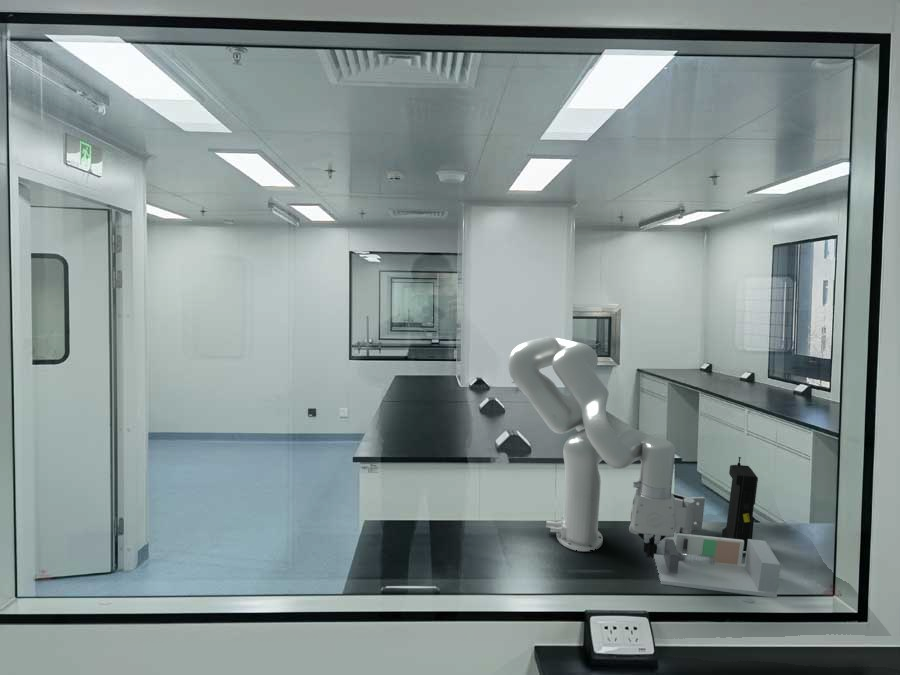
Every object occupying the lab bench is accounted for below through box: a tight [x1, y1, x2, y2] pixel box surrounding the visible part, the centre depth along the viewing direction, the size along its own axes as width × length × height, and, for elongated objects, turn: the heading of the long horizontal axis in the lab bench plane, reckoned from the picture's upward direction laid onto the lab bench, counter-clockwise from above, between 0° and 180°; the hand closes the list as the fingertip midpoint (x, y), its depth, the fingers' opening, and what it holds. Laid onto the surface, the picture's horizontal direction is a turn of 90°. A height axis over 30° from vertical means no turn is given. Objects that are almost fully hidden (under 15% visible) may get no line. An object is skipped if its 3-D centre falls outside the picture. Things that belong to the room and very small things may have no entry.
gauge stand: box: [653, 532, 781, 599], centre depth 137 cm, size 26×11×8 cm, turn 79°
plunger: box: [663, 538, 715, 574], centre depth 138 cm, size 11×7×6 cm, turn 79°
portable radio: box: [721, 456, 759, 551], centre depth 148 cm, size 8×6×25 cm
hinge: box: [671, 492, 706, 535], centre depth 159 cm, size 14×5×10 cm, turn 69°
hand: (649, 554), depth 140 cm, fingers closed
